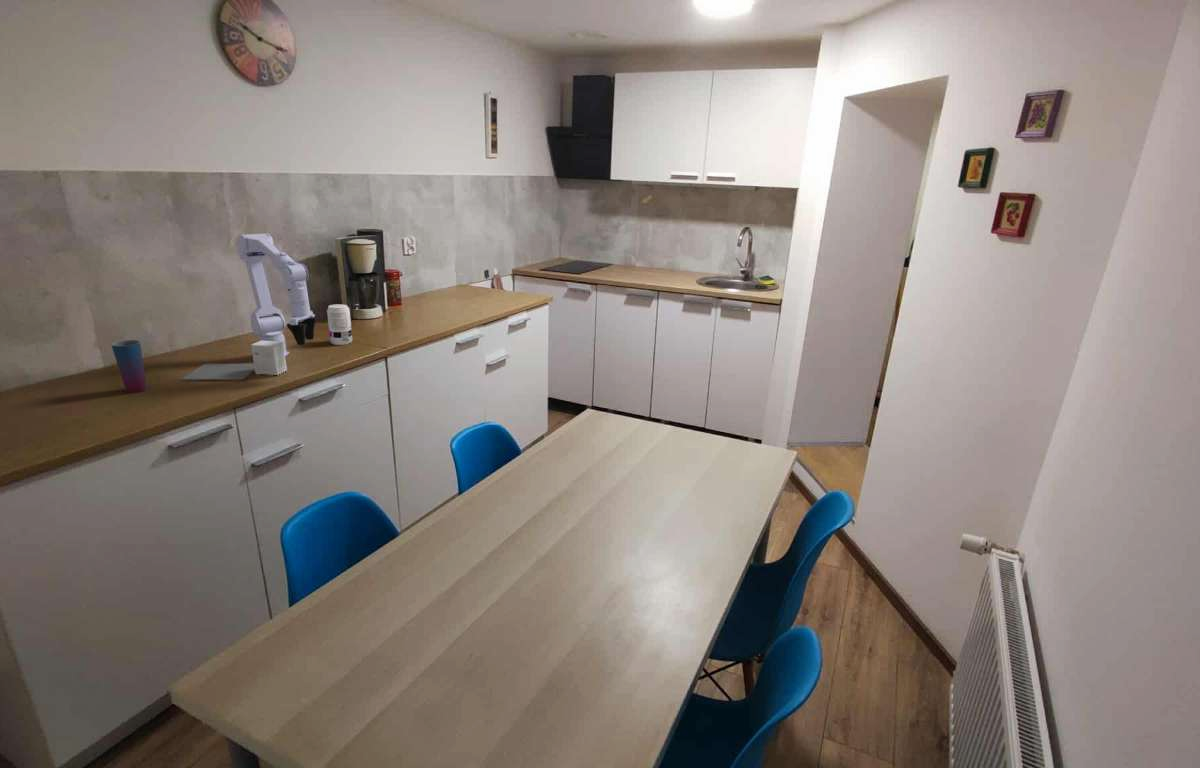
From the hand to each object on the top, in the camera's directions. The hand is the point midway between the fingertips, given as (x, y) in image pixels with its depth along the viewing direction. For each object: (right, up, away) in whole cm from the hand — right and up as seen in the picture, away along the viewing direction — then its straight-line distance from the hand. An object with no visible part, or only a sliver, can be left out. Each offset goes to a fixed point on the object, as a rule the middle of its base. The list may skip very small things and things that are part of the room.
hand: (305, 341), depth 198 cm
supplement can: (-5, +2, +39) cm, 39 cm away
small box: (-13, -11, +2) cm, 17 cm away
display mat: (-28, -10, 0) cm, 29 cm away
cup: (-43, -16, -18) cm, 49 cm away
